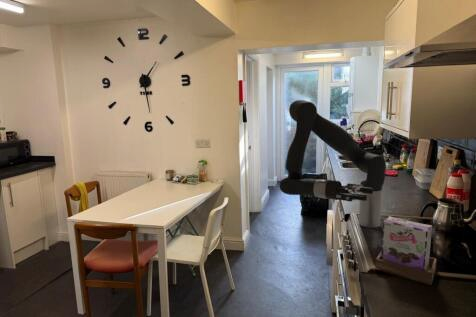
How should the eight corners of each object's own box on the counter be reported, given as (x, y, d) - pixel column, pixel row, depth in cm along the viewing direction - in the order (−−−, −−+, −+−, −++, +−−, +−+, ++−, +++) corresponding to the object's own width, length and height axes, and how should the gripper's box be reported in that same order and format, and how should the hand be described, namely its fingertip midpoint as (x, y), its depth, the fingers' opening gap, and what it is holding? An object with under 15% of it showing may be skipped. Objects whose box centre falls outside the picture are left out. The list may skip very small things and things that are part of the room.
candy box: (380, 264, 114) (382, 220, 111) (386, 258, 118) (388, 215, 115) (423, 278, 104) (427, 230, 101) (428, 271, 109) (432, 224, 105)
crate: (383, 256, 121) (383, 246, 120) (435, 269, 111) (436, 258, 110) (375, 269, 112) (375, 259, 111) (431, 285, 102) (432, 273, 101)
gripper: (320, 185, 123) (364, 190, 114) (333, 175, 134) (375, 179, 125) (320, 203, 125) (364, 210, 115) (334, 193, 136) (374, 198, 126)
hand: (369, 194), depth 120 cm, fingers open, 8 cm apart
